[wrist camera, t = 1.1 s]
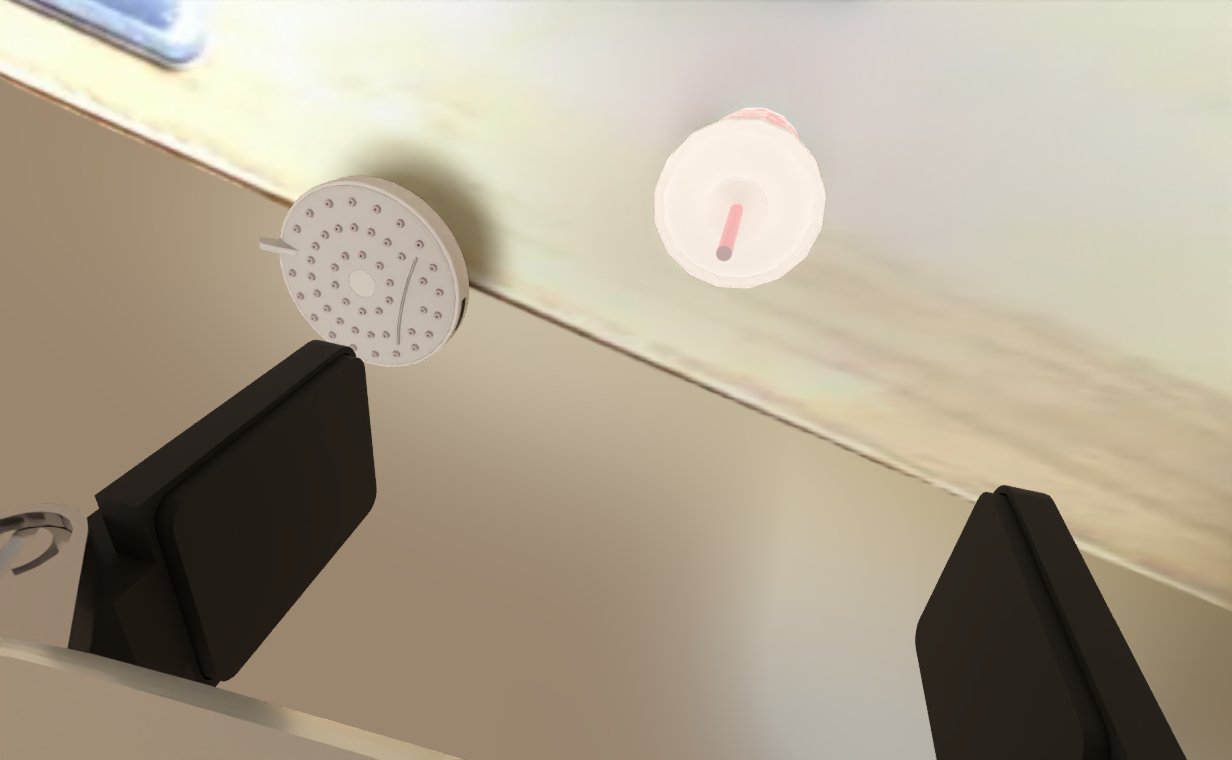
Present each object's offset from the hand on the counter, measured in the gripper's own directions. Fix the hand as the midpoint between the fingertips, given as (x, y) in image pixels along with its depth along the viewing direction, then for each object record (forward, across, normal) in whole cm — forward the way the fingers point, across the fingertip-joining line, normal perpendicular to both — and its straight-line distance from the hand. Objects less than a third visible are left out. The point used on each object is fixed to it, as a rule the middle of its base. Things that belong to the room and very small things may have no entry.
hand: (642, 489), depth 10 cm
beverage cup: (+26, 0, 0) cm, 26 cm away
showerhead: (+26, +17, +7) cm, 32 cm away
